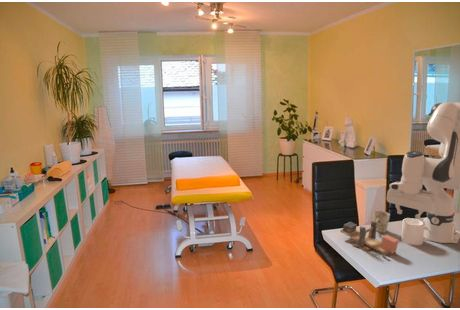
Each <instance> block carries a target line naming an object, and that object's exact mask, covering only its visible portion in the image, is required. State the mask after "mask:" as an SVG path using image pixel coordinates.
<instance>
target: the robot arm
mask: <svg viewBox="0 0 460 310" xmlns="http://www.w3.org/2000/svg"><path fill="white" fill-rule="evenodd" d="M429 115H430V117H429V120H428V122H427V125H426V132H427V134H428V135H429V137H431V138H432V139H433V140H435V141H437V142H439V143H440V146H439V148H438V154H439V156H440V158H433V157H427V156H424V153H423V152H422V151H417V150H413V151H407V152H406V153H404V156H403V159H402V164H401V173H402V174H401V177H400V181H395V182H392V183H390V184H389V185H388V186H389V189H388V190H387V192H386V201H387V203H389V204H392V205H393V204H394V205H395V208H396V210H397V211H396V213H397V214H398V215H402V214H403V209H401V207H405V208H408V209H409V208H410V209H414V210H417V211H418V213H416V214H415V215H414V219H418V220H421V216H422V214H423V213H424V212H425V213H426V217H425V218H424V219H423V220H422V221H423V222H424V223H425V227H429V228H430V230H431V239H430V240H429V241H432V242H435V243H441V244H458V243H459V241H460V231H459V230H457V228H458V224H457V223H456V222H455V220H454V219H455V218H454V217H455V214H456V212H455V211H454V205H455V200H454V198H453V197H452V196H451V195H450V194H449V193H448V192H446V191H445V189H449V190H454V191H460V102H459V101H458V102H457V101H456V102H450V101H448V102H446V101H445V102H438V103H436V104H433V105H432V107H431V109H430V114H429ZM423 186H424V187H425V189H426V190H425V189H423ZM400 206H401V207H400ZM429 236H430V233H429V230H426V229H424V237H423V238H429Z"/></svg>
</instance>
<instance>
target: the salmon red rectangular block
mask: <svg viewBox="0 0 460 310" xmlns="http://www.w3.org/2000/svg"><path fill="white" fill-rule="evenodd" d="M380 242H381V247H380V248H382V249H384V250H386V251H388V252H390V253H389V254H393V253H395V252H396V251H397V249H398V244H399V239H398V238H395V237H393V236H390V235H389V234H386V235H383V236H382V238H381V241H380Z"/></svg>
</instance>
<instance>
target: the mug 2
mask: <svg viewBox="0 0 460 310" xmlns="http://www.w3.org/2000/svg"><path fill="white" fill-rule="evenodd" d="M423 221H424V220H421V219H416V218H415V217H414V218H413V217H412V218H410V217H406V218H404V219H402V224H401V235H400V240H401V241H402V242H403V243H405V244H407V245H411V246H420V245H421V246H422V245H423V244H424V241H425V242H430V241H431V240H430V239H431V230H430V228H429V227H425V223H424V222H423ZM424 229H426V230H429V233H430V236H429V238H425V237H424Z"/></svg>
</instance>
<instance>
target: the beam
mask: <svg viewBox="0 0 460 310" xmlns="http://www.w3.org/2000/svg"><path fill="white" fill-rule="evenodd" d="M357 226H358V224H357V223H354V222H352V221H348V222H347V223H344V224H343V228H342V229H340V233H341V234H343V235H346V236H347V237H349V238H352V239H354V240H356V241H357V242H359V234H360V230H357ZM372 229H374V228H373V227H371V226H370V227H369V228H366V230H365V244H366V245H368V246H370V247H372V248H373V249H374V250H376V251H378V252H379V253H382V254H383V251H386V250H384V249H382V248H380V247H381V242H382V241H379V240H378V239H373V238H371V234H372ZM367 233H368V235H367ZM390 254H391V253H390V252H388V251H386V255H385V256H388V255H390Z"/></svg>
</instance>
